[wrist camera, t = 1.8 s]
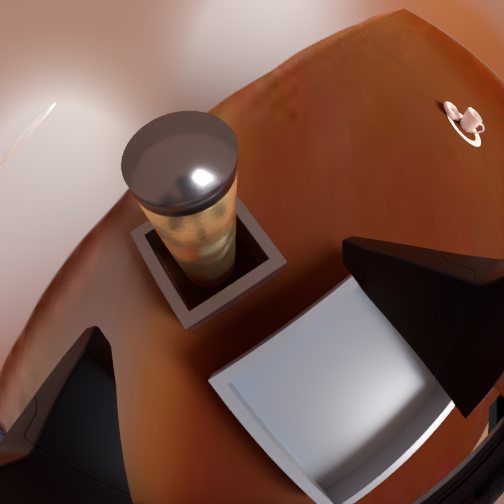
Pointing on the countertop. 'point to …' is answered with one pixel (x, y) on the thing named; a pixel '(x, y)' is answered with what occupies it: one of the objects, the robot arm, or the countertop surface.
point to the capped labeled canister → (188, 190)
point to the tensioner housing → (231, 295)
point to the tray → (335, 396)
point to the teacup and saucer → (465, 121)
